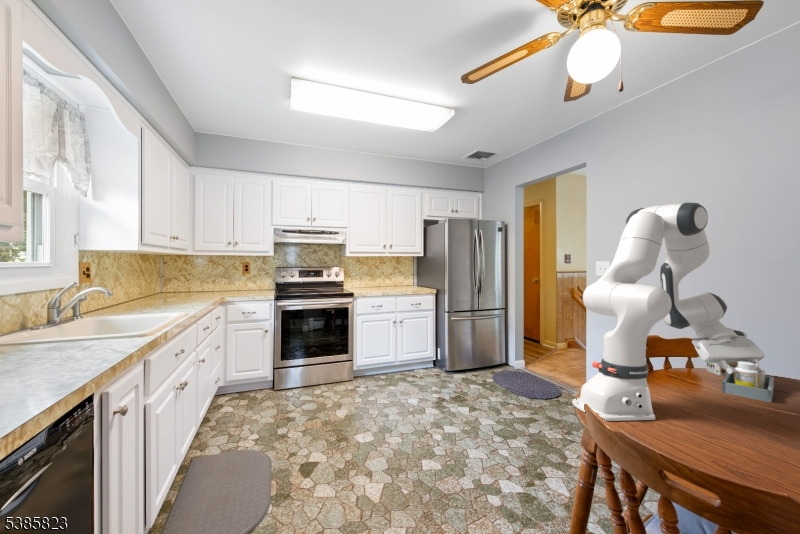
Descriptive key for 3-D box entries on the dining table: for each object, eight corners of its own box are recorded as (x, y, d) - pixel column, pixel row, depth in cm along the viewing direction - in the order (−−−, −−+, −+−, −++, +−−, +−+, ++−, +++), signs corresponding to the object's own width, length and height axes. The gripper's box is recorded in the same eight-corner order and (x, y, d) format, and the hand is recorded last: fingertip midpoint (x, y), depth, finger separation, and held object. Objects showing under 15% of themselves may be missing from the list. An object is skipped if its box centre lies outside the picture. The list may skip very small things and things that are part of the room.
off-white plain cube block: (763, 391, 110) (763, 374, 110) (734, 386, 115) (734, 369, 115) (765, 387, 114) (764, 370, 114) (736, 381, 119) (736, 365, 119)
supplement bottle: (746, 390, 111) (745, 360, 111) (764, 396, 106) (764, 365, 106) (730, 390, 111) (729, 360, 111) (747, 396, 106) (746, 365, 106)
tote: (771, 405, 101) (771, 391, 101) (722, 395, 110) (722, 382, 110) (773, 389, 114) (773, 377, 114) (729, 381, 122) (729, 369, 122)
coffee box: (719, 378, 126) (719, 337, 127) (705, 372, 133) (705, 333, 133) (745, 378, 126) (744, 337, 126) (730, 373, 132) (729, 334, 132)
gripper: (694, 333, 116) (723, 368, 106) (749, 332, 117) (782, 367, 107) (683, 342, 120) (710, 377, 111) (736, 341, 121) (767, 376, 111)
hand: (746, 372), depth 109 cm, fingers open, 8 cm apart
